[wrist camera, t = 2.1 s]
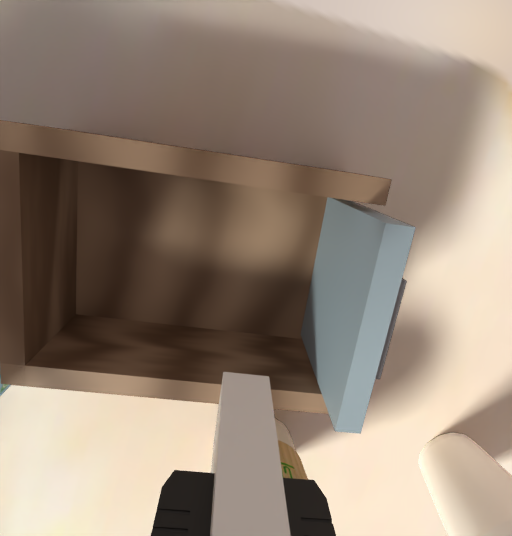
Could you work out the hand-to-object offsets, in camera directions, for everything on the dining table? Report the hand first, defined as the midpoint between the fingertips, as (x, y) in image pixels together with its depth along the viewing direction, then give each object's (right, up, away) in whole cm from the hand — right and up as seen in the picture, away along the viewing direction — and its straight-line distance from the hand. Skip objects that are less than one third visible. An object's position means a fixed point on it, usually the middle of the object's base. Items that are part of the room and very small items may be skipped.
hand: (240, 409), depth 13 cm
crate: (-4, +6, +19) cm, 21 cm away
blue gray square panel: (+7, +4, +19) cm, 21 cm away
